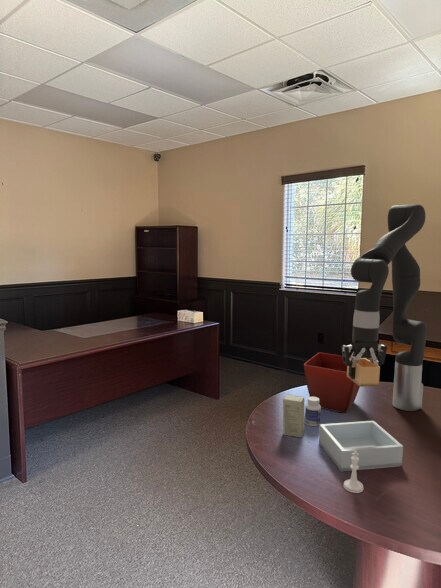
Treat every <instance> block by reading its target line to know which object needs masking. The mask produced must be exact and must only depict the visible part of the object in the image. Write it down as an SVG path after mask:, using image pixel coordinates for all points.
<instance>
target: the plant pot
mask: <svg viewBox="0 0 441 588" xmlns="http://www.w3.org/2000/svg"><path fill="white" fill-rule="evenodd" d="M350 358H351V356H350ZM303 369H304V370H303V371H304V377H305V383H306V387H307V392H308V395H309V396H308V397H317V398H319V405H320V406H321V409H324V410H329V411H334V412H338V413H343V414H346V413H348V411H349V409H350V408H351V407H352V405H353V404H354V403H355V400H356V398H357V395H358V393H359V390H360V388H361V387H360V386H358V385H357V384H356V383H354V382H353V381H352V380H350V379H349V378H348V377H347V365H346V364H344V363H343V357H342V355H340V354H339V355H338V354H334V353H333V354H331V353H328V352H327V353H325V352H317V353H316V354H315V355H313V356H312V357H311V358H309V359H308V360H307V361H306V362H304V363H303Z"/></svg>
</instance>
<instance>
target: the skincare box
mask: <svg viewBox="0 0 441 588" xmlns="http://www.w3.org/2000/svg"><path fill="white" fill-rule="evenodd" d="M304 433H305V396H298V395H293V394H285V396H284V397H283V398H282V435H285V436H290V437H295V438H296V437H297V438H302V437H303V435H304Z"/></svg>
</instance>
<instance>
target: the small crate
mask: <svg viewBox="0 0 441 588" xmlns="http://www.w3.org/2000/svg"><path fill="white" fill-rule="evenodd" d="M350 359H351V358H350ZM355 368H356V371H355V379H352V378H350V376H349V374H348V373H349V366H347V377H348V378H349V379H350V380H352V381H353V382H354V383H356V384H357V385H358V386H360V388H361V387H379V386H380V375H381V374H380V372H381V365H379V366H378V365H376V364H375V363H373V362H370V360H369V358H366V357H365V358H360V360H359V361H358V362H357V364H356V366H355Z"/></svg>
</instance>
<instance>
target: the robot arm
mask: <svg viewBox="0 0 441 588" xmlns="http://www.w3.org/2000/svg"><path fill="white" fill-rule="evenodd" d="M425 222H426V211H425V208H424V206H423V205H421V204H417V203H415V204H413V203H412V204H397V205H392V206H390V208H389V209H388V212H387V230H388V231H387V233H386V234H384V235H382V236H381V237H380V238H379V239H378V240H376V242H375V243H374V245H373V246H372V247H371V248H370V250H367V251H366V252H364V253H363V254H362V255H360V256H358V257H357V258H356V259H355V260H354V261H353V262H352V265H351V268H350V275H351V278H352V279H353V280H354V281H357V282H360V283H369V284H370V283H371V286H370V287H369V288H368V289H361V290H358V291H356V294H355V303H354V304H355V305H354V312H353V320H352V332H351V333H352V334H351V335H352V336H351V337H352V339H351V340H352V341H351V343H350V344H348V345H345V344H342V345H341V354H342V355H341V356H342V357H343V363H344V364H346V365H347V366H349V373H348V374H349V376H350V378H352V379H355V371H356V368H355V366H356V364H357V362H358V361H359V360H360V358H366V359H368V360H370V362H373V363H375V364H376V365H378V366H383V365H384V364H385V360H386V356H387V352H388V351H387V350H388V346H387V345H384V344H382V343H381V344H379V343H378V341H379V334H380V333H379V332H380V324H381V323H380V322H381V321H380V318H381V316H380V305H381V297H382V292H383V290H384V287H385V284H386V282H387V279H388V277H389V272H390V269H389V264H390V263H391V285H392V303H393V305H392V309H393V310H392V324H391V326H392V329H391V332H392V338H393V340H394V341H395V342H396V343H399V344H404V345H408V346H410V350H405V351H399V352H397V353H396V354H395V359H394V360H395V362H394V376H393V389H392V390H393V391H392V392H393V393H392V406H393V407H394V408H396V409H398V410H401V411H407V412H414V411H415V412H416V411H418V410H420V409H422V408H423V407H422V406H423V405H422V404H423V394H424V393H423V392H424V383H422V377H423V376H422V375H423V374H422V373H423V362H424V357H425V350H426V349H425V348H426V342H427V336H428V335H427V334H428V327H427V325H426V323H425V322H423V321H420V320H413V319H407V309H408V307H409V305H410V304H411V302H412V300H413V299H414V297H415V296H416V294H417V293H418V292H419V289H420V288H421V268H420V265H419V263H418V261H417V260H416V258H415V257H414V256H413V255H412V253H411V252H410V250H409V248H408V247H407V246H406V244H407V243H408V242H409V241H410V240H411V239H412V238H414V237H415V236H416V234H418V233H419V232H420V231H421V230H422V229H423V227H424V225H425ZM351 350H352V353H351ZM376 351H377V352H378V353H377V356H376ZM350 353H351V355H350ZM350 357H351V359H350Z"/></svg>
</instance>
